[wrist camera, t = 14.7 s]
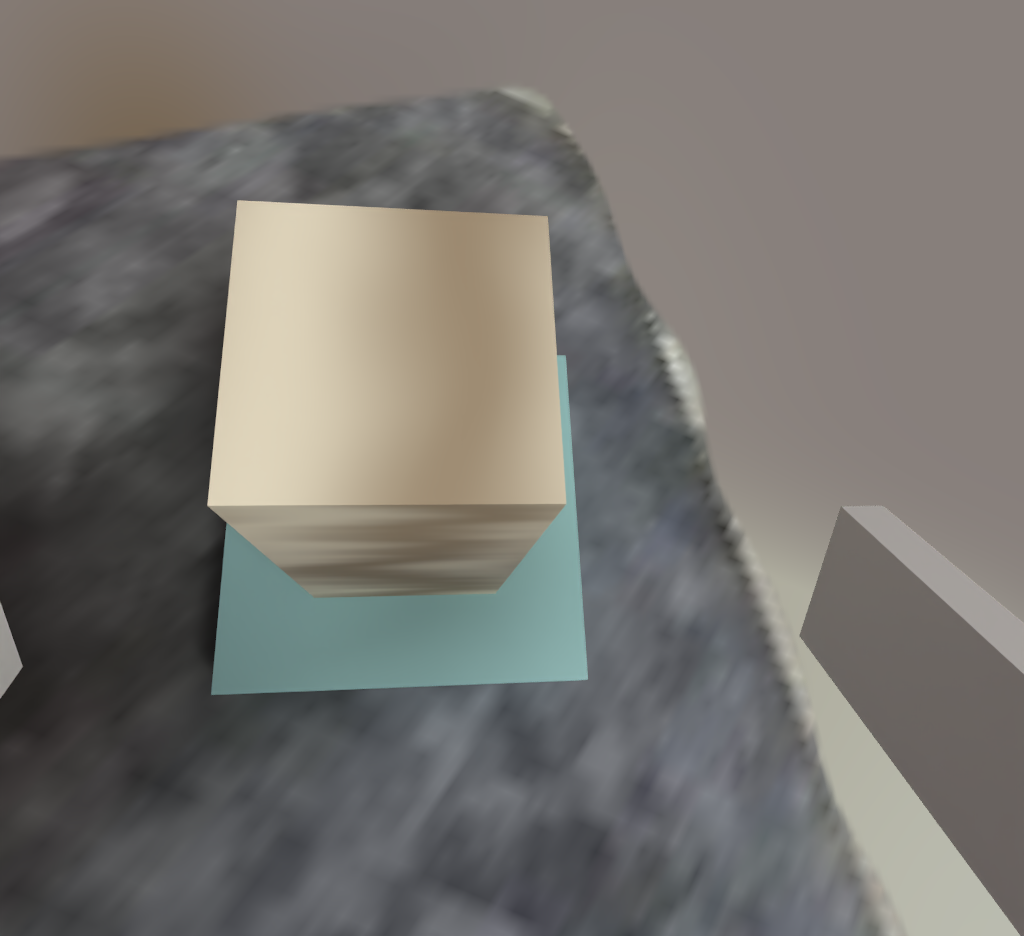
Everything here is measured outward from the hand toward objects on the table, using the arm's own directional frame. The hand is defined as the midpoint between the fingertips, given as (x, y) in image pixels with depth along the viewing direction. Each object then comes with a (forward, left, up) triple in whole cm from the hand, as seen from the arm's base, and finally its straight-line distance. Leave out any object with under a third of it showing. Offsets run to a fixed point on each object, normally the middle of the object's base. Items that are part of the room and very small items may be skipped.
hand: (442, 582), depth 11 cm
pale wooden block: (-1, +4, -12) cm, 13 cm away
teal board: (-1, +4, -15) cm, 16 cm away
